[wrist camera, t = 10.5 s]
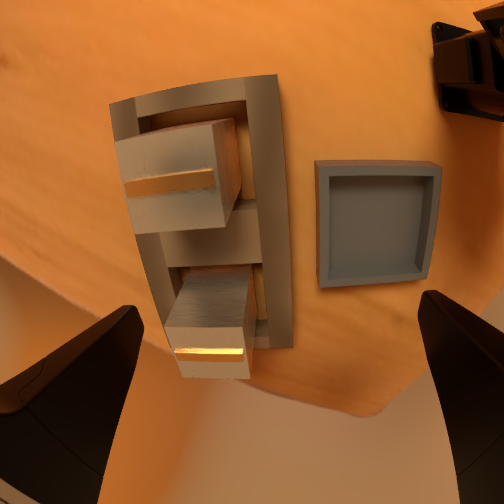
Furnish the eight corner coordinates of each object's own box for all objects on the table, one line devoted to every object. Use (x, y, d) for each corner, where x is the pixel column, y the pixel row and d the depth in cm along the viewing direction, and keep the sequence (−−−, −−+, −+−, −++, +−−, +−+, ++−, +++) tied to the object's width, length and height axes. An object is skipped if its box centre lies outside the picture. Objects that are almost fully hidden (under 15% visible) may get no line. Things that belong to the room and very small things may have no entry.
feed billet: (251, 261, 22) (241, 329, 15) (257, 310, 24) (250, 381, 17) (192, 264, 22) (162, 329, 16) (203, 311, 24) (182, 379, 18)
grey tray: (429, 161, 17) (442, 167, 16) (417, 266, 21) (426, 279, 19) (314, 160, 18) (318, 166, 16) (316, 274, 22) (319, 287, 20)
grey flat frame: (276, 77, 16) (277, 74, 14) (292, 330, 24) (292, 347, 23) (123, 103, 17) (109, 104, 15) (176, 332, 25) (170, 347, 24)
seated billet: (234, 117, 17) (210, 124, 11) (241, 185, 19) (224, 228, 13) (166, 127, 18) (112, 142, 11) (176, 191, 20) (132, 236, 13)
